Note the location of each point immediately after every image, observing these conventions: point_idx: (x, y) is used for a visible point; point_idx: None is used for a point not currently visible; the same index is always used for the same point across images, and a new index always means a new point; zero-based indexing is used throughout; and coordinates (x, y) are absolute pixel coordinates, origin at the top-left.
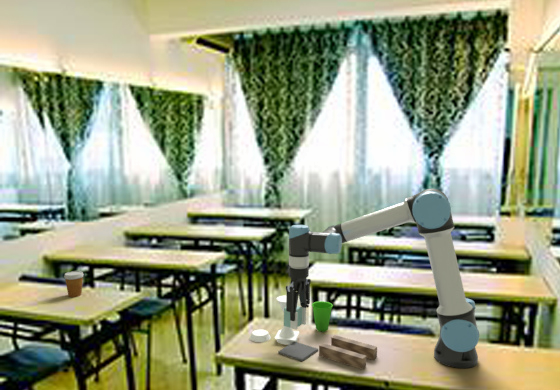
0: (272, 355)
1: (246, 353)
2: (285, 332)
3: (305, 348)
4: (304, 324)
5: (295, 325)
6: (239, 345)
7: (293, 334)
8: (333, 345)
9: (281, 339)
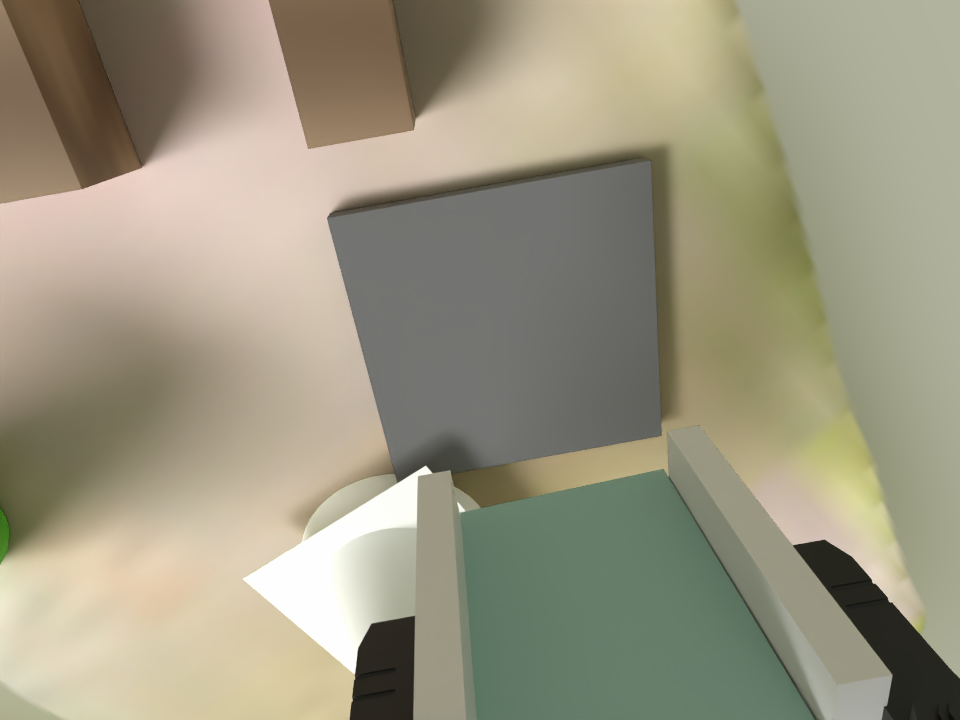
0: (717, 427)
1: None
2: None
3: (432, 313)
4: (450, 478)
5: (726, 477)
6: None
7: (371, 552)
8: (116, 136)
9: None
